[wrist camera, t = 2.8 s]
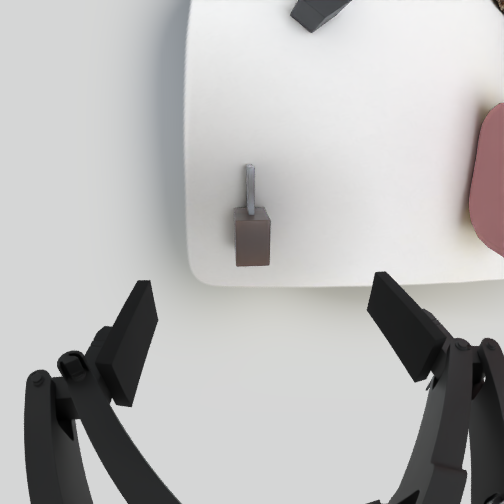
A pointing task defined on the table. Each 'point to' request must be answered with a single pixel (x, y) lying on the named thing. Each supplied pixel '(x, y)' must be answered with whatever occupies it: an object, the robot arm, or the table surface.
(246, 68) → the table surface
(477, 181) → the alarm clock
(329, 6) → the cube with grey tab
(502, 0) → the cactus
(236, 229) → the blade walnut
